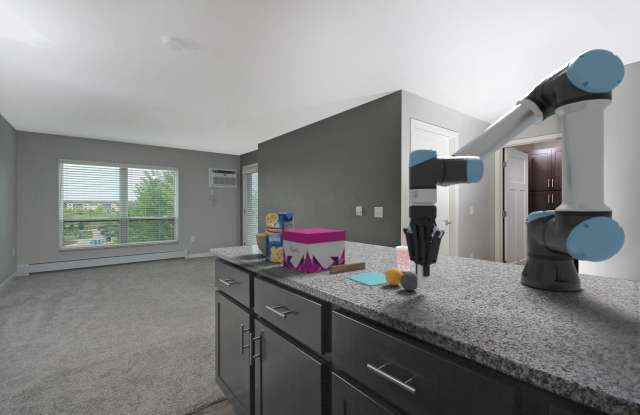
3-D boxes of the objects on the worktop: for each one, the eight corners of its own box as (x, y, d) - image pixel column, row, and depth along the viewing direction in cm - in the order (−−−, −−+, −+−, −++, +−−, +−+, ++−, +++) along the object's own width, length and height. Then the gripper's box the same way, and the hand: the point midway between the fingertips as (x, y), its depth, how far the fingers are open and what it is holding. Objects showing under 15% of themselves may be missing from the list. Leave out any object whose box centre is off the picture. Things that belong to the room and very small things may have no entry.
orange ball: (406, 285, 96) (406, 268, 96) (394, 288, 93) (394, 270, 93) (394, 282, 101) (394, 265, 101) (381, 284, 98) (381, 267, 98)
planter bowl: (250, 257, 149) (250, 235, 149) (262, 252, 165) (262, 232, 165) (282, 258, 146) (282, 235, 146) (291, 253, 162) (291, 232, 162)
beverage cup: (405, 272, 115) (405, 235, 114) (392, 269, 119) (392, 234, 119) (415, 270, 118) (415, 234, 118) (402, 267, 123) (401, 233, 123)
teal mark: (402, 280, 103) (402, 279, 103) (370, 286, 96) (370, 285, 96) (375, 272, 115) (375, 271, 115) (344, 277, 108) (344, 276, 108)
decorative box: (282, 265, 129) (281, 230, 129) (318, 260, 140) (318, 228, 140) (307, 274, 114) (307, 233, 114) (345, 267, 125) (345, 230, 125)
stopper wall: (365, 268, 122) (365, 262, 122) (331, 273, 114) (331, 267, 114) (363, 268, 123) (363, 262, 123) (330, 273, 115) (329, 266, 115)
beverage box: (284, 263, 134) (284, 213, 133) (265, 261, 140) (265, 213, 139) (294, 261, 139) (293, 212, 139) (275, 258, 145) (275, 212, 145)
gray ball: (416, 267, 92) (405, 276, 96) (404, 269, 89) (393, 279, 93) (426, 283, 90) (414, 292, 93) (414, 286, 86) (403, 295, 90)
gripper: (396, 204, 90) (396, 284, 91) (433, 204, 79) (433, 295, 80) (413, 204, 94) (413, 280, 95) (451, 204, 83) (451, 290, 84)
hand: (422, 287), depth 87 cm, fingers closed
